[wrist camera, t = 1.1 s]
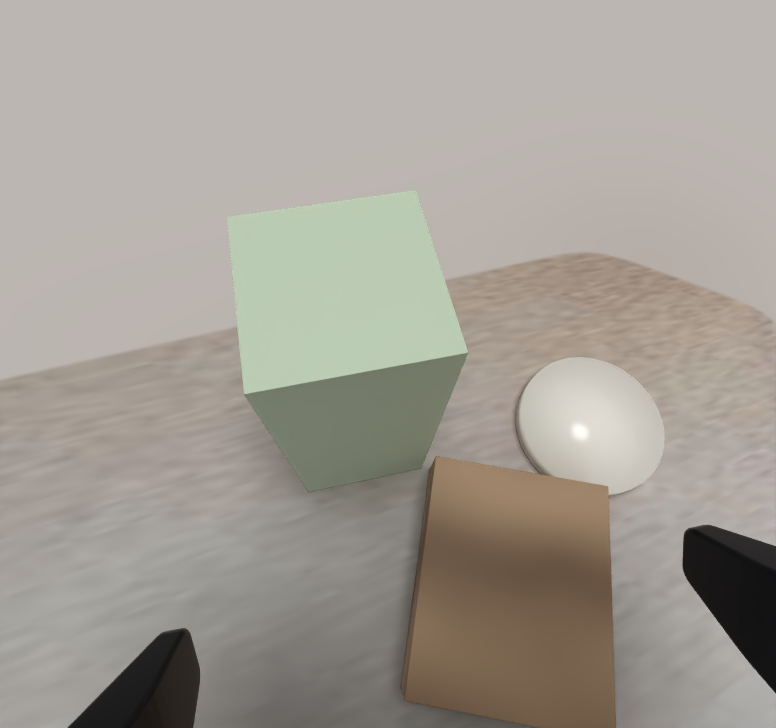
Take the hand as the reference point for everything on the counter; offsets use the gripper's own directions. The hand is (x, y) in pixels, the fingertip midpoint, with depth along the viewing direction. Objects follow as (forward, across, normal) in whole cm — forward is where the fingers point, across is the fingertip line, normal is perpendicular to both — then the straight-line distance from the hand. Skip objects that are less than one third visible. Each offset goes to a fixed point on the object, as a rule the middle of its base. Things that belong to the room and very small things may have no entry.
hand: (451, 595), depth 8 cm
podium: (+10, -4, +9) cm, 14 cm away
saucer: (+14, -10, +4) cm, 18 cm away
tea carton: (+16, +1, +3) cm, 16 cm away
